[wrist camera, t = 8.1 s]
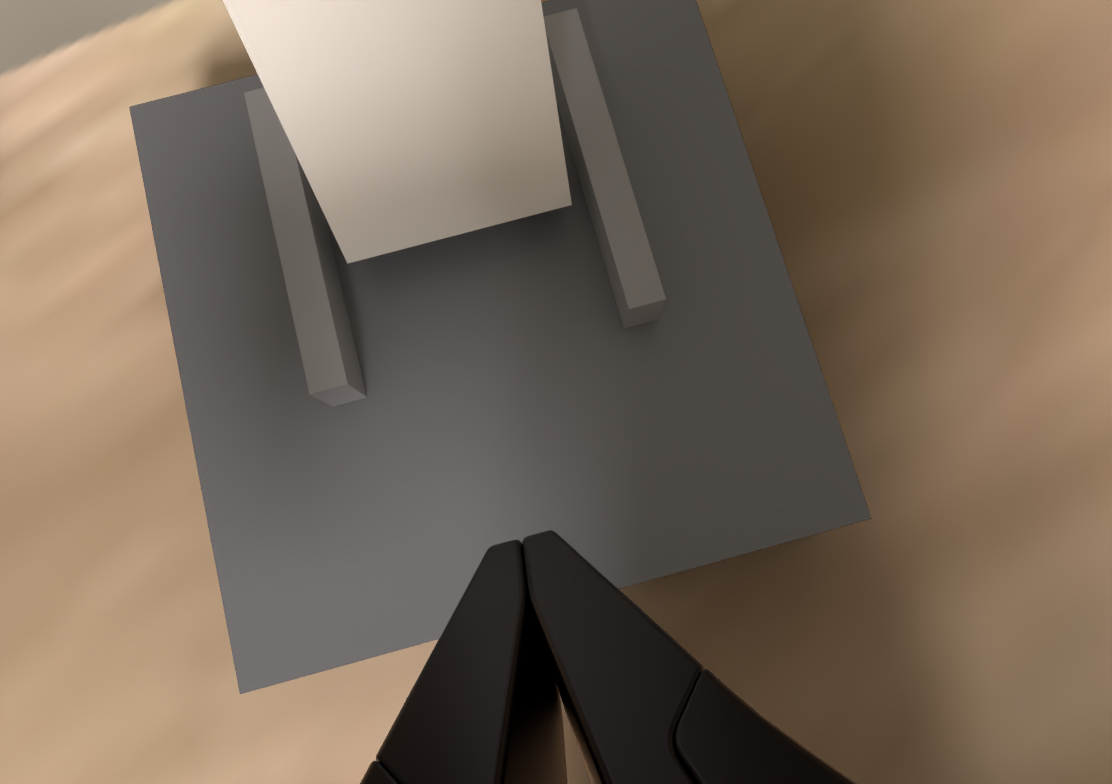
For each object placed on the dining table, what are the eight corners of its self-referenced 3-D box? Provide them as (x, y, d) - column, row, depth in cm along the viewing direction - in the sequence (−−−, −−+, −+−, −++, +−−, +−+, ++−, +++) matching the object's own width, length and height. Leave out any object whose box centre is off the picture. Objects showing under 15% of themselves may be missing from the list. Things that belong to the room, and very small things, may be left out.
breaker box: (821, 521, 21) (901, 516, 16) (295, 667, 20) (206, 710, 15) (667, 51, 23) (694, -84, 18) (195, 171, 23) (90, 68, 18)
